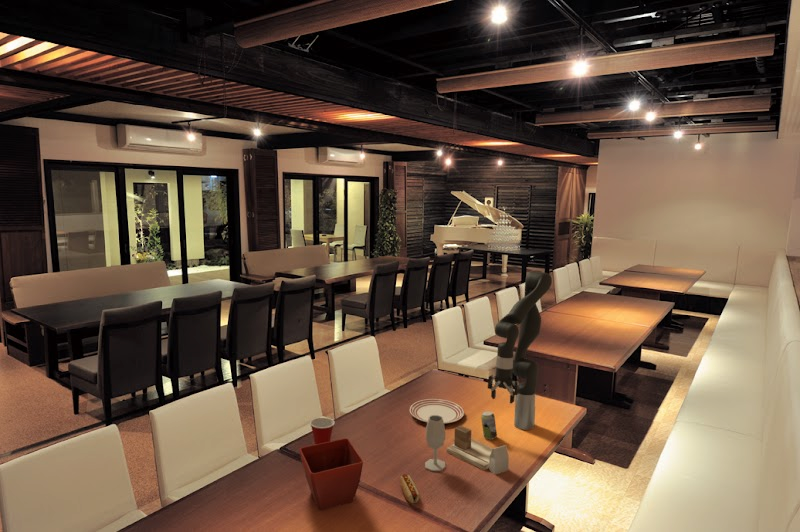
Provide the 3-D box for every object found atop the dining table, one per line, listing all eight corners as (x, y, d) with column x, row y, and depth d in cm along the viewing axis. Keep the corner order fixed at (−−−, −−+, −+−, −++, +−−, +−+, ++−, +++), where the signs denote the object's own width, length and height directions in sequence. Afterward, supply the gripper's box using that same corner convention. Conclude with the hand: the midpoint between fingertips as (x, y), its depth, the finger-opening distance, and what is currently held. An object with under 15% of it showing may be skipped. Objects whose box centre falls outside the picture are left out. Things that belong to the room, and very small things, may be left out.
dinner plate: (472, 412, 253) (472, 406, 252) (448, 433, 230) (448, 427, 229) (426, 400, 267) (426, 394, 267) (399, 419, 244) (399, 413, 244)
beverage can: (496, 441, 222) (497, 416, 220) (480, 440, 224) (481, 415, 222) (496, 435, 228) (497, 410, 227) (480, 433, 230) (481, 409, 228)
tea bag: (508, 470, 199) (509, 447, 197) (494, 474, 196) (495, 451, 194) (502, 466, 202) (503, 443, 201) (489, 470, 199) (489, 447, 198)
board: (466, 441, 223) (466, 436, 222) (504, 457, 208) (504, 453, 208) (446, 452, 213) (446, 447, 213) (484, 470, 199) (484, 465, 198)
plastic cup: (340, 446, 217) (339, 421, 215) (320, 456, 209) (320, 429, 208) (324, 438, 225) (324, 413, 223) (305, 447, 217) (304, 421, 215)
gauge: (457, 441, 219) (457, 424, 217) (470, 447, 213) (471, 429, 212) (451, 444, 216) (451, 427, 215) (465, 450, 210) (465, 433, 209)
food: (422, 504, 177) (422, 491, 176) (407, 507, 176) (408, 494, 175) (411, 483, 190) (411, 471, 190) (397, 485, 189) (397, 473, 188)
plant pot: (312, 519, 169) (310, 473, 166) (300, 489, 186) (298, 447, 184) (364, 505, 176) (364, 461, 174) (348, 477, 194) (347, 437, 191)
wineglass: (448, 462, 204) (448, 415, 201) (442, 474, 196) (443, 424, 193) (427, 459, 207) (428, 412, 204) (421, 470, 199) (422, 421, 196)
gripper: (522, 367, 221) (520, 402, 222) (493, 361, 229) (491, 394, 230) (516, 371, 215) (514, 407, 216) (486, 364, 223) (484, 399, 224)
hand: (502, 400), depth 223 cm, fingers open, 8 cm apart
